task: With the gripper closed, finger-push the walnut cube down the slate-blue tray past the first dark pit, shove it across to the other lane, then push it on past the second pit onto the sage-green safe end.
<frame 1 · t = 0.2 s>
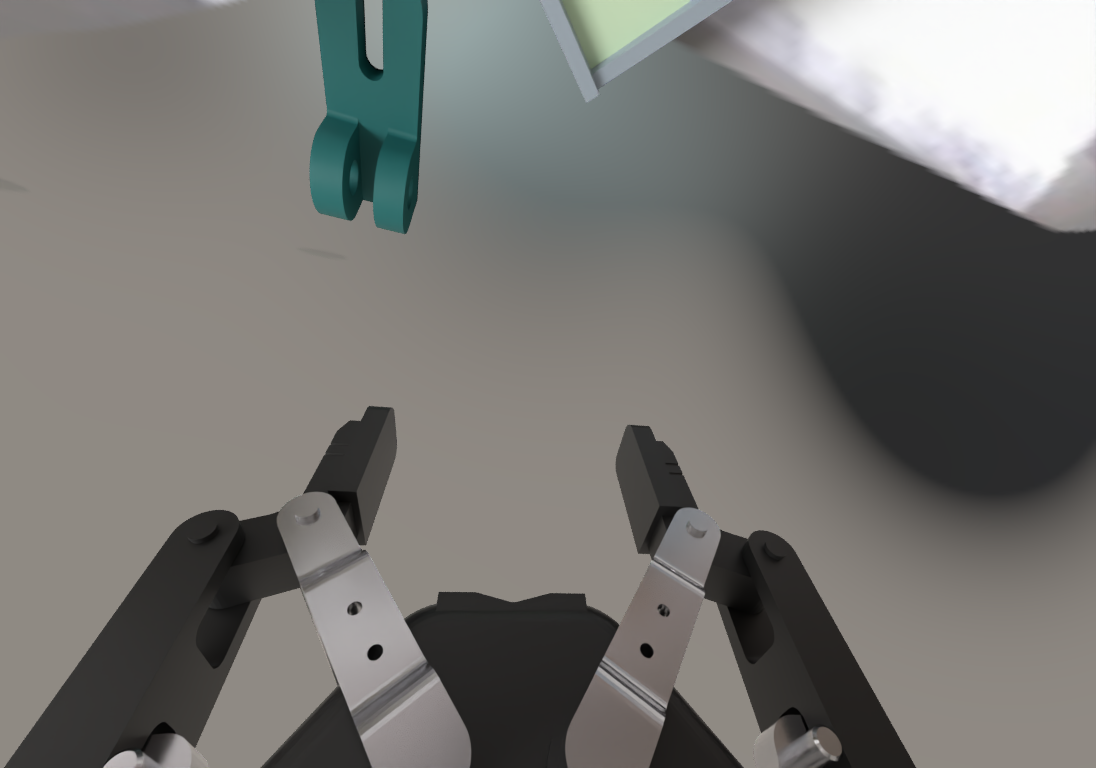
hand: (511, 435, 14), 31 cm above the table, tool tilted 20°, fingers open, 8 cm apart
bracket: (379, 84, 33), on the table
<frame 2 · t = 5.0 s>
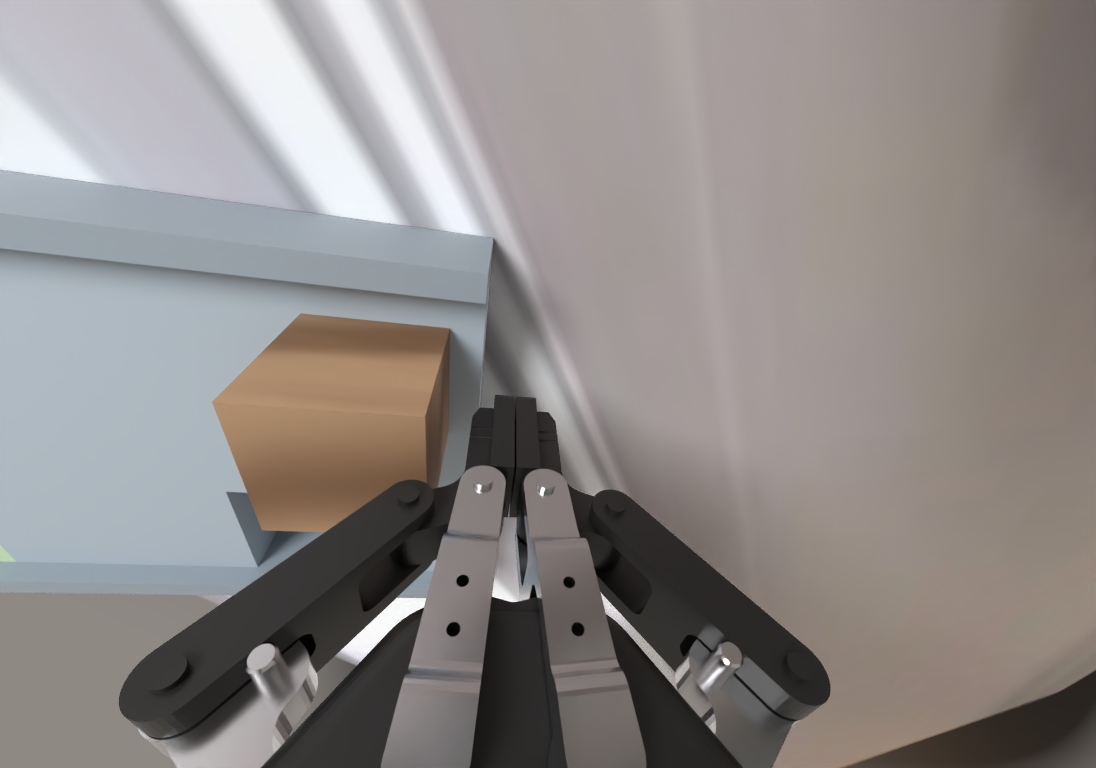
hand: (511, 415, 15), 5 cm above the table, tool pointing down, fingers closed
block: (382, 379, 16), point 3 cm above the table, touching gripper
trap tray: (165, 401, 19), on the table
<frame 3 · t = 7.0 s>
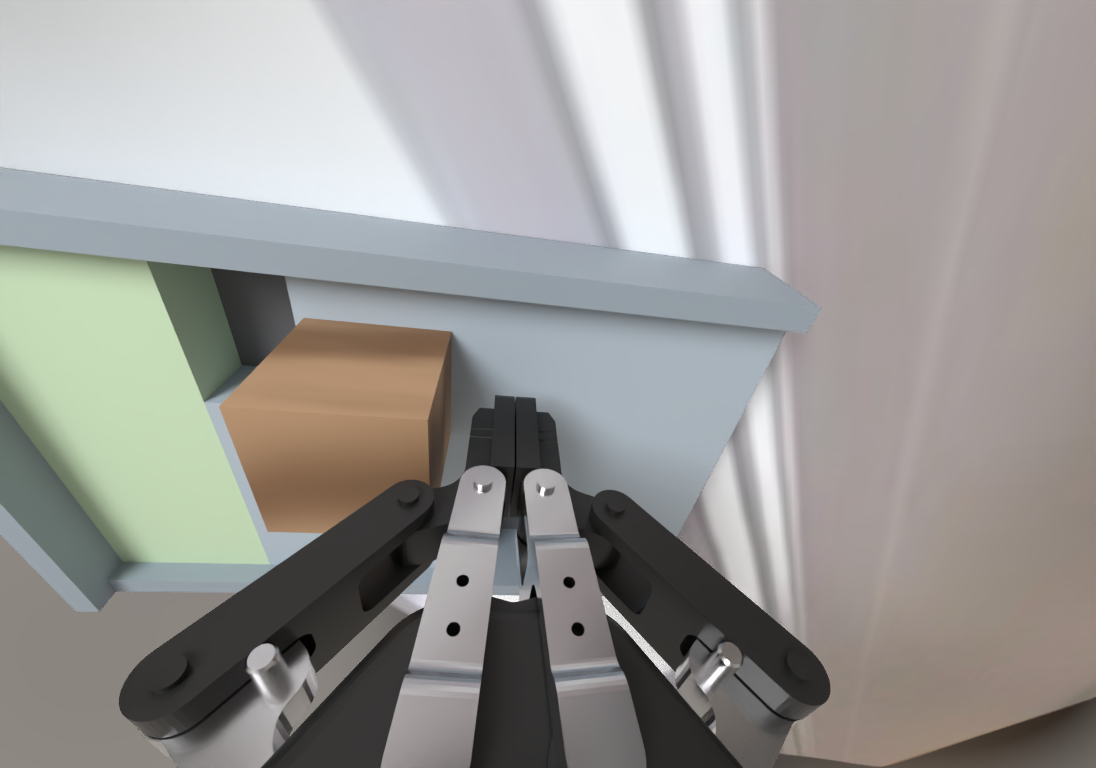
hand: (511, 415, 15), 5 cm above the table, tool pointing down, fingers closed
block: (385, 382, 16), point 3 cm above the table, touching gripper, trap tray
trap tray: (419, 416, 21), on the table
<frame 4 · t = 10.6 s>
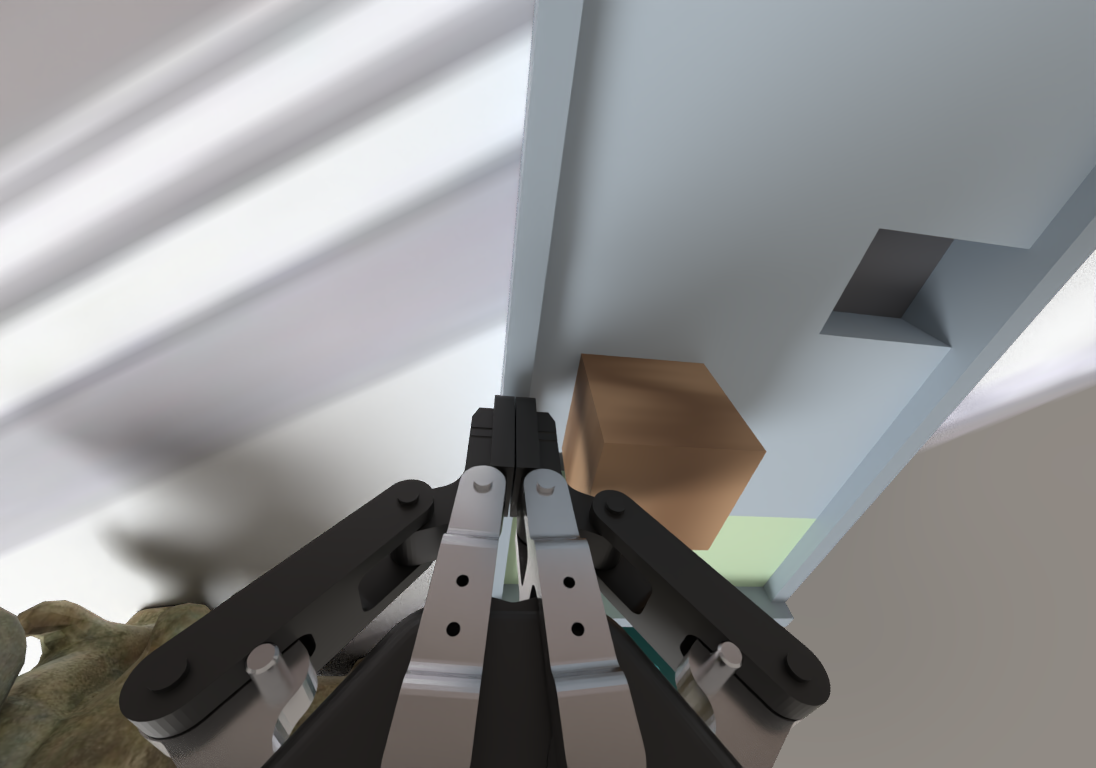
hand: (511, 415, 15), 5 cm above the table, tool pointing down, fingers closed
bracket: (607, 640, 37), on the table
block: (628, 408, 17), point 3 cm above the table, touching gripper, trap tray
sculpture: (250, 625, 32), on the table
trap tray: (699, 364, 20), on the table
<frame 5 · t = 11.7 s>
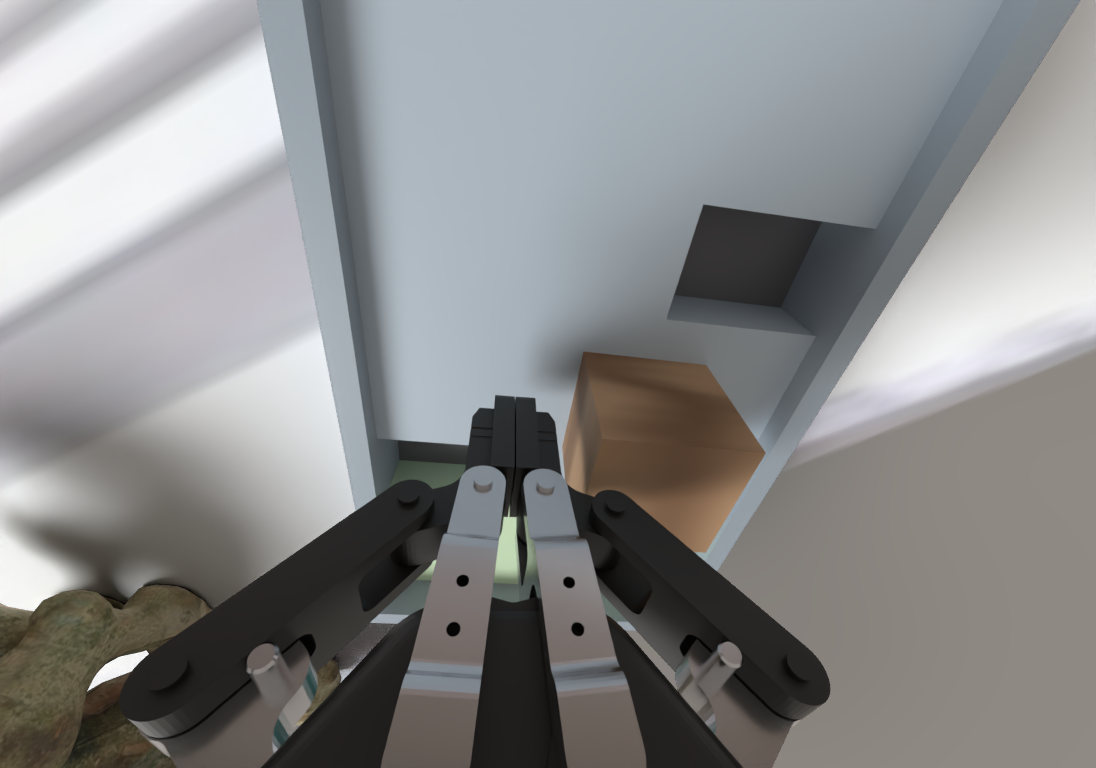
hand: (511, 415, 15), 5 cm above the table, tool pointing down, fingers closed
block: (629, 408, 17), point 3 cm above the table, touching gripper, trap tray
sculpture: (169, 615, 31), on the table
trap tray: (576, 353, 19), on the table
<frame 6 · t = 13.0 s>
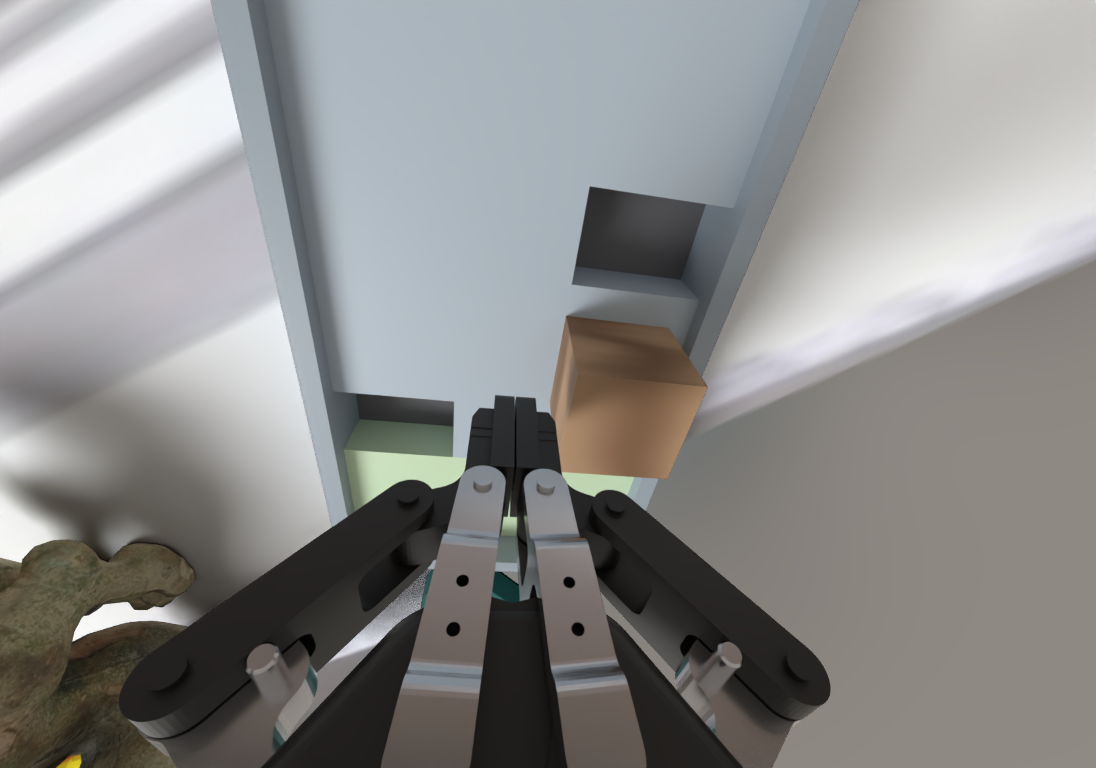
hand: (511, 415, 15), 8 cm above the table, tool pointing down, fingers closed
bracket: (504, 604, 39), on the table
block: (606, 366, 21), point 3 cm above the table, touching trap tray
sculpture: (152, 576, 34), on the table
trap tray: (509, 320, 22), on the table
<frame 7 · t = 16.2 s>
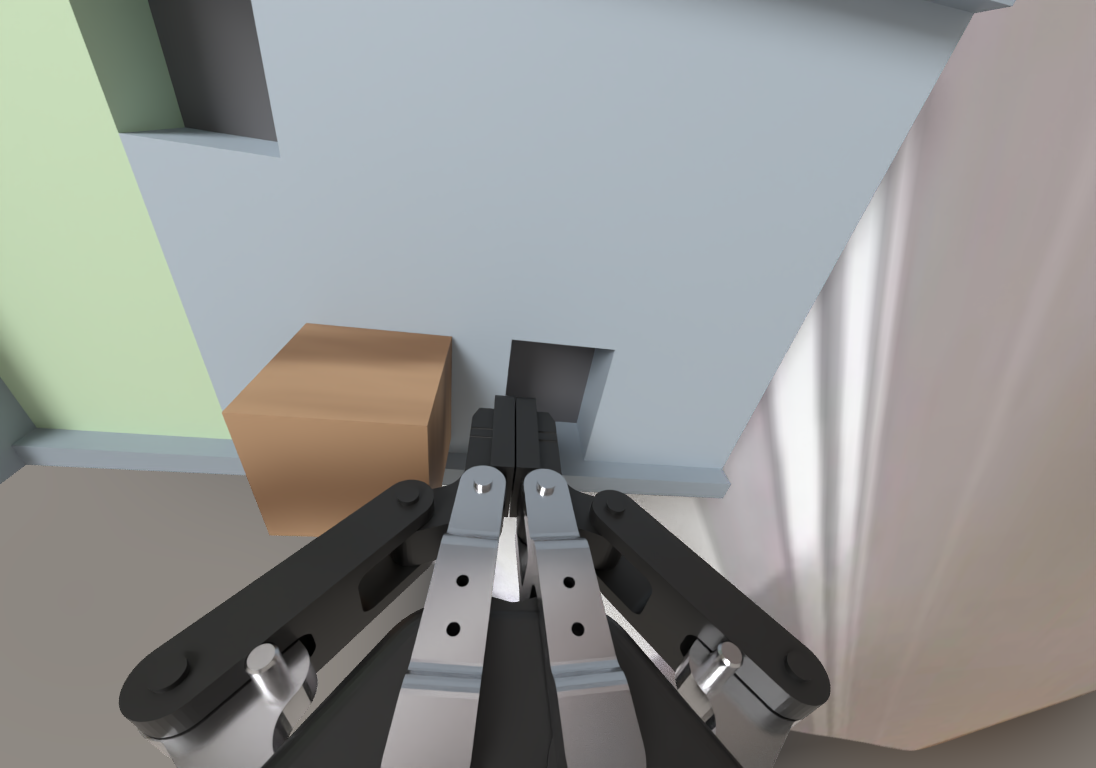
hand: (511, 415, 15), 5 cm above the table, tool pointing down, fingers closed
block: (386, 386, 16), point 3 cm above the table, touching gripper
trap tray: (428, 236, 16), on the table
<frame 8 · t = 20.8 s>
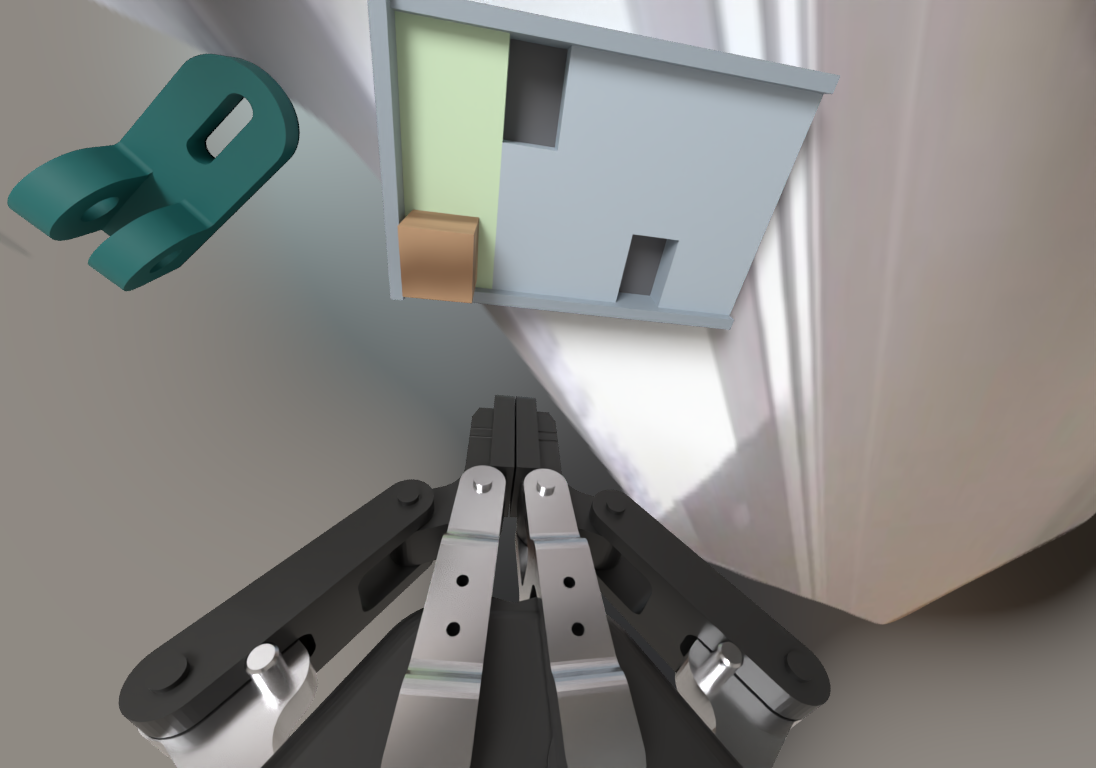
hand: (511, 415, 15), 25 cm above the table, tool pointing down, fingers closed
bracket: (205, 164, 32), on the table
block: (446, 246, 33), point 3 cm above the table, touching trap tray
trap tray: (591, 188, 34), on the table
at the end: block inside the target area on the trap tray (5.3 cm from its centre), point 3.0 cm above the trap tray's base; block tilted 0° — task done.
